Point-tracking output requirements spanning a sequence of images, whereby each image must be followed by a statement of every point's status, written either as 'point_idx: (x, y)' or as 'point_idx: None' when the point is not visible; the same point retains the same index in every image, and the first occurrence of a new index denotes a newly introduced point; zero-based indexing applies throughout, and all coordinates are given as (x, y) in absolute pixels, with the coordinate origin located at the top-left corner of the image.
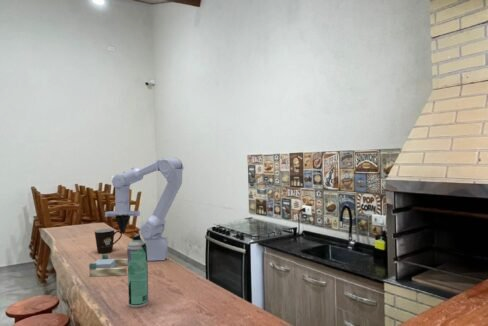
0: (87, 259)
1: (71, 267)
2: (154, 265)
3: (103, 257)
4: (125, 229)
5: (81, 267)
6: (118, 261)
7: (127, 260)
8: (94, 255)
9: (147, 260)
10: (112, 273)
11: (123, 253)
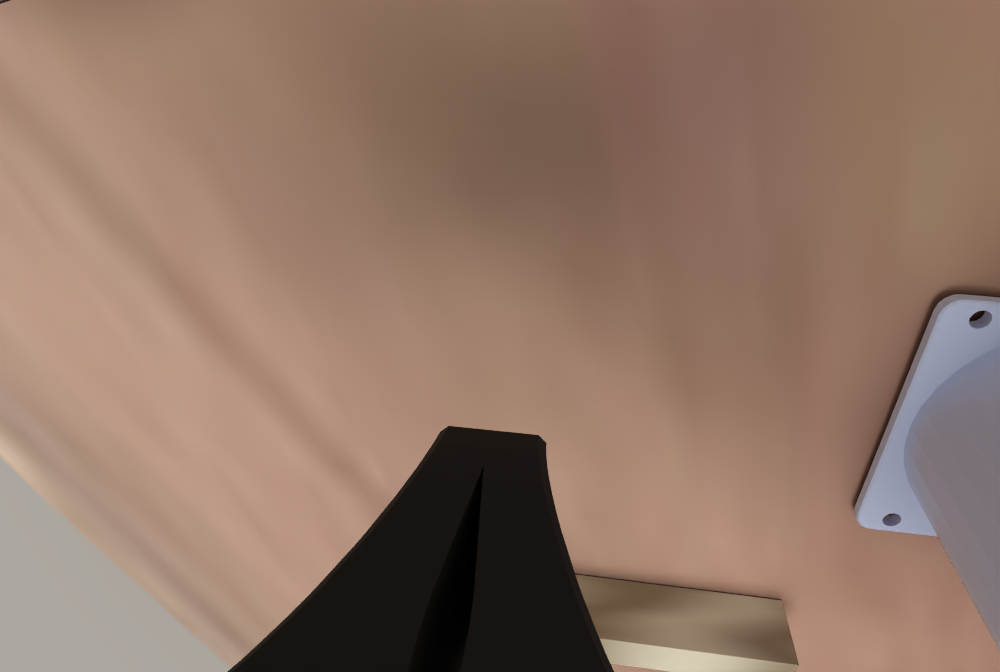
0: (68, 279)
1: (107, 533)
2: (994, 664)
3: None
4: (549, 490)
5: (210, 554)
6: None
7: (694, 664)
8: (19, 62)
9: (932, 529)
10: None
11: (489, 7)
